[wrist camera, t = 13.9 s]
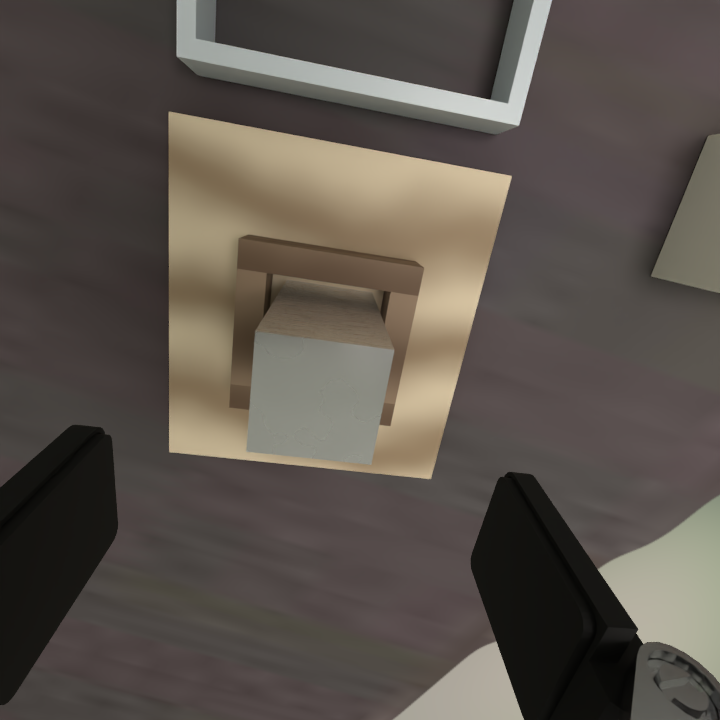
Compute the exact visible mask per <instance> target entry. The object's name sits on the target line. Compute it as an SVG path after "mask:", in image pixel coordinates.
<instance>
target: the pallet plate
mask: <svg viewBox="0 0 720 720" xmlns="http://www.w3.org/2000/svg"><path fill="white" fill-rule="evenodd" d="M511 177H512V176H509V175H503V174H498V173H493V172H487V171H482V170H477V169H471V168H466V167H461V166H455V165H450V164H445V163H440V162H434V161H429V160H424V159H418V158H413V157H408V156H402V155H397V154H392V153H387V152H381V151H376V150H371V149H365V148H360V147H355V146H349V145H344V144H339V143H333V142H328V141H323V140H318V139H312V138H307V137H302V136H296V135H291V134H286V133H280V132H275V131H270V130H264V129H259V128H254V127H249V126H243V125H238V124H233V123H227V122H222V121H217V120H211V119H206V118H201V117H195V116H190V115H185V114H180V113H174V112H169V452H174V453H183V454H193V455H203V456H212V457H222V458H232V459H242V460H251V461H261V462H271V463H280V464H290V465H300V466H310V467H319V468H329V469H339V470H348V471H358V472H368V473H378V474H387V475H397V476H407V477H416V478H426V479H431V476H432V472H433V469H434V465H435V461H436V457H437V454H438V450H439V446H440V443H441V439H442V435H443V431H444V428H445V424H446V420H447V416H448V413H449V409H450V405H451V401H452V398H453V394H454V390H455V387H456V383H457V379H458V375H459V372H460V368H461V364H462V360H463V357H464V353H465V349H466V345H467V342H468V338H469V334H470V330H471V327H472V323H473V319H474V316H475V312H476V308H477V304H478V301H479V297H480V293H481V289H482V286H483V282H484V278H485V274H486V271H487V267H488V263H489V260H490V256H491V252H492V248H493V245H494V241H495V237H496V233H497V230H498V226H499V222H500V218H501V215H502V211H503V207H504V204H505V200H506V196H507V192H508V189H509V185H510V181H511ZM286 280H292V281H299V282H306V283H312V284H319V285H326V286H332V287H339V288H346V289H352V290H359V291H366V292H372V293H373V296H374V298H375V301H376V304H377V306H378V309H379V311H380V314H381V316H382V319H383V322H384V324H385V327H386V329H387V332H388V335H389V337H390V340H391V342H392V345H393V347H394V355H393V360H392V365H391V370H390V375H389V380H388V385H387V390H386V394H385V399H384V404H383V409H382V414H381V419H380V424H379V429H378V434H377V439H376V444H375V449H374V454H373V459H372V464H371V465H368V464H359V463H349V462H339V461H330V460H320V459H311V458H301V457H291V456H282V455H272V454H263V453H253V452H246V448H247V434H248V421H249V407H250V394H251V380H252V367H253V353H254V340H255V331H256V329H257V327H258V326H259V324H260V322H261V321H262V319H263V318H264V316H265V314H266V313H267V311H268V310H269V308H270V306H271V305H272V303H273V301H274V300H275V298H276V297H277V295H278V293H279V292H280V290H281V289H282V287H283V285H284V284H285V282H286Z"/></svg>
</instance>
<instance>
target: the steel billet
mask: <svg viewBox="0 0 720 720" xmlns="http://www.w3.org/2000/svg"><path fill="white" fill-rule="evenodd" d="M393 355H394V347H393V345H392V342H391V340H390V337H389V335H388V332H387V329H386V327H385V324H384V322H383V319H382V316H381V314H380V311H379V309H378V306H377V304H376V301H375V298H374V296H373V293H372V292H366V291H359V290H352V289H346V288H339V287H332V286H326V285H319V284H312V283H306V282H299V281H292V280H286V282H285V284H284V285H283V287H282V289H281V290H280V292H279V293H278V295H277V297H276V298H275V300H274V301H273V303H272V305H271V306H270V308H269V310H268V311H267V313H266V314H265V316H264V318H263V319H262V321H261V322H260V324H259V326H258V327H257V329H256V331H255V340H254V353H253V367H252V380H251V394H250V407H249V421H248V434H247V448H246V452H253V453H263V454H272V455H282V456H291V457H301V458H311V459H320V460H330V461H339V462H349V463H359V464H368V465H371V464H372V459H373V454H374V449H375V444H376V439H377V434H378V429H379V424H380V419H381V414H382V409H383V404H384V399H385V394H386V390H387V385H388V380H389V375H390V370H391V365H392V360H393Z"/></svg>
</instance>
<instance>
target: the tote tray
mask: <svg viewBox="0 0 720 720" xmlns="http://www.w3.org/2000/svg"><path fill="white" fill-rule="evenodd" d="M551 2H552V0H514V2H513V6H512V10H511V14H510V19H509V23H508V27H507V31H506V36H505V40H504V44H503V48H502V52H501V57H500V61H499V65H498V69H497V74H496V78H495V82H494V86H493V90H492V95H491V99H490V100H488V99H484V98H479V97H474V96H469V95H464V94H460V93H455V92H450V91H445V90H440V89H436V88H431V87H426V86H421V85H416V84H412V83H407V82H402V81H397V80H392V79H388V78H383V77H378V76H373V75H368V74H364V73H359V72H354V71H349V70H344V69H340V68H335V67H330V66H325V65H320V64H315V63H311V62H306V61H301V60H296V59H291V58H287V57H282V56H277V55H272V54H267V53H263V52H258V51H253V50H248V49H243V48H239V47H234V46H229V45H224V44H219V43H215V28H216V0H177V57H178V58H179V59H180V60H181V61H182V62H183V63H185V64H186V65H187V66H188V67H189V68H190V69H191V70H192V71H193V72H195V73H196V74H197V75H198V76H203V77H208V78H213V79H218V80H223V81H228V82H233V83H238V84H243V85H248V86H253V87H259V88H264V89H269V90H274V91H279V92H284V93H289V94H294V95H299V96H304V97H309V98H314V99H319V100H324V101H329V102H334V103H339V104H344V105H349V106H354V107H359V108H364V109H369V110H374V111H379V112H384V113H389V114H394V115H399V116H404V117H409V118H414V119H419V120H424V121H429V122H434V123H439V124H445V125H450V126H455V127H460V128H465V129H470V130H475V131H480V132H485V133H490V134H495V135H497V134H500V133H502V132H505V131H507V130H510V129H512V128H515V127H517V126H519V124H520V120H521V116H522V112H523V109H524V105H525V101H526V97H527V93H528V90H529V86H530V82H531V78H532V74H533V70H534V67H535V63H536V59H537V55H538V51H539V48H540V44H541V40H542V36H543V32H544V29H545V25H546V21H547V17H548V13H549V10H550V6H551Z"/></svg>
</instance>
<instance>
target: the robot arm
mask: <svg viewBox="0 0 720 720" xmlns="http://www.w3.org/2000/svg"><path fill="white" fill-rule="evenodd" d="M117 529H118V518H117V504H116V490H115V476H114V462H113V448H112V438H111V436H110V435H106V434H105V432H104V430H103V429H102V428H100V427H92V426H83V425H72V426H70V427H69V428H68V429H66V430H65V431H64V432H63V433H62V434H61V435H60V436H58V437H57V438H56V439H55V440H54V441H53V442H52V443H51V444H49V445H48V446H47V447H46V448H45V449H44V450H43V451H41V452H40V453H39V454H38V455H37V456H36V457H35V458H33V459H32V460H31V461H30V462H29V463H28V464H27V465H25V466H24V467H23V468H22V469H21V470H20V471H19V472H18V473H16V474H15V475H14V476H13V477H12V478H11V479H10V480H8V481H7V482H6V483H5V484H4V485H3V486H2V487H0V705H4V704H6V703H8V702H9V701H10V700H11V699H12V697H13V696H14V695H15V693H16V692H17V690H18V689H19V687H20V686H21V684H22V682H23V681H24V679H25V678H26V676H27V675H28V673H29V672H30V670H31V668H32V667H33V665H34V664H35V662H36V661H37V659H38V658H39V656H40V654H41V653H42V651H43V650H44V648H45V647H46V645H47V644H48V642H49V640H50V639H51V637H52V636H53V634H54V633H55V631H56V630H57V628H58V626H59V625H60V623H61V622H62V620H63V619H64V617H65V616H66V614H67V612H68V611H69V609H70V608H71V606H72V605H73V603H74V602H75V600H76V598H77V597H78V595H79V594H80V592H81V591H82V589H83V588H84V586H85V584H86V583H87V581H88V580H89V578H90V577H91V575H92V574H93V572H94V570H95V569H96V567H97V566H98V564H99V563H100V561H101V560H102V558H103V556H104V555H105V553H106V552H107V550H108V549H109V547H110V546H111V544H112V542H113V541H114V539H115V536H116V533H117ZM471 569H472V572H473V575H474V578H475V581H476V584H477V587H478V590H479V593H480V595H481V598H482V601H483V604H484V607H485V610H486V613H487V615H488V618H489V621H490V624H491V627H492V630H493V633H494V635H495V638H496V641H497V644H498V647H499V650H500V653H501V655H502V658H503V661H504V664H505V667H506V670H507V673H508V675H509V678H510V681H511V684H512V687H513V690H514V693H515V695H516V698H517V701H518V704H519V707H520V710H521V713H522V715H523V718H524V720H720V683H719V682H718V681H717V680H716V678H715V677H714V676H713V675H712V674H711V673H710V672H709V671H708V670H707V669H705V668H704V667H703V666H702V665H701V664H700V663H699V662H697V661H696V660H694V659H693V658H691V657H690V656H689V655H687V654H686V653H684V652H682V651H680V650H678V649H676V648H674V647H672V646H670V645H667V644H663V643H660V642H647V643H645V644H643V643H642V641H641V640H640V639H639V637H638V635H637V634H636V632H637V631H638V628H637V627H636V625H635V624H634V622H633V621H632V620H631V618H630V617H629V615H628V614H627V612H626V611H625V609H624V608H623V606H622V605H621V603H620V602H619V600H618V599H617V597H616V596H615V594H614V593H613V592H612V590H611V589H610V587H609V586H608V584H607V583H606V581H605V580H604V579H603V577H602V575H601V574H600V573H599V571H598V570H597V568H596V567H595V565H594V564H593V562H592V561H591V559H590V558H589V556H588V555H587V553H586V552H585V550H584V549H583V548H582V546H581V545H580V543H579V542H578V540H577V539H576V537H575V536H574V534H573V533H572V531H571V530H570V528H569V527H568V526H567V524H566V523H565V521H564V520H563V518H562V517H561V515H560V514H559V512H558V511H557V509H556V508H555V506H554V505H553V504H552V502H551V501H550V499H549V498H548V496H547V495H546V493H545V492H544V490H543V489H542V487H541V486H540V484H539V483H538V481H537V480H536V479H535V477H534V476H533V475H531V474H524V473H515V472H508V473H507V474H506V475H505V476H504V477H500V478H499V479H498V481H497V484H496V487H495V490H494V492H493V495H492V498H491V501H490V504H489V507H488V510H487V512H486V515H485V518H484V521H483V524H482V527H481V529H480V532H479V535H478V538H477V541H476V544H475V546H474V549H473V552H472V555H471Z"/></svg>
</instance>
